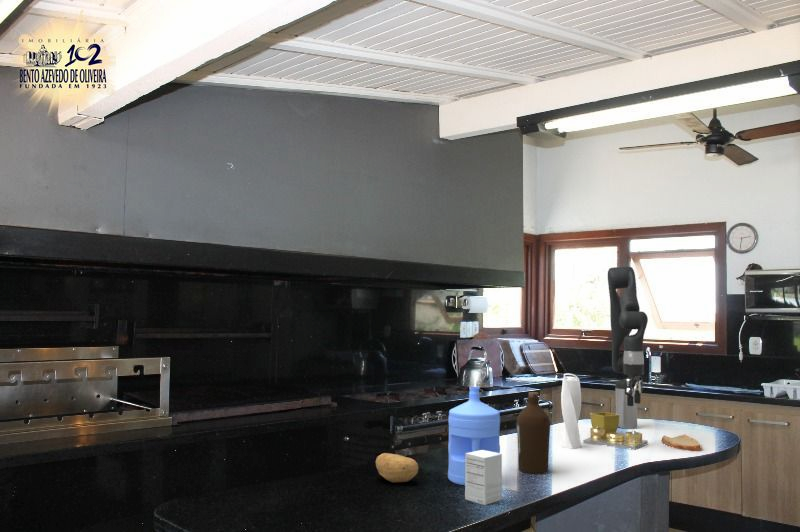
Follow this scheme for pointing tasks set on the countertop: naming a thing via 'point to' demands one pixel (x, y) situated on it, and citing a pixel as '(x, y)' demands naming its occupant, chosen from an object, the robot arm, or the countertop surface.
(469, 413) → the water jug
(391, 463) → the potato
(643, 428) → the countertop surface
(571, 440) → the skyscraper
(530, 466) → the olive oil
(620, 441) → the carrier
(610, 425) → the flower pot
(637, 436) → the gold octagonal ring
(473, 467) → the supplement box
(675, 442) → the slice of bread
